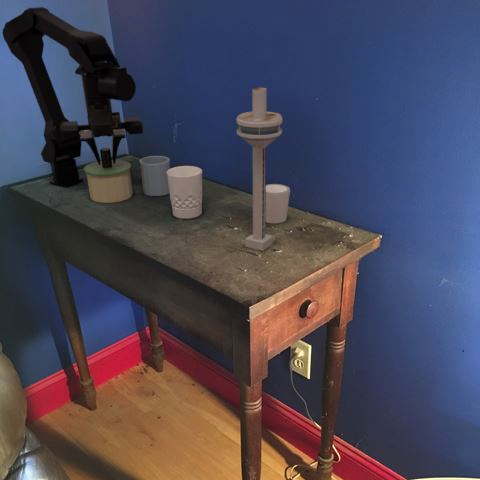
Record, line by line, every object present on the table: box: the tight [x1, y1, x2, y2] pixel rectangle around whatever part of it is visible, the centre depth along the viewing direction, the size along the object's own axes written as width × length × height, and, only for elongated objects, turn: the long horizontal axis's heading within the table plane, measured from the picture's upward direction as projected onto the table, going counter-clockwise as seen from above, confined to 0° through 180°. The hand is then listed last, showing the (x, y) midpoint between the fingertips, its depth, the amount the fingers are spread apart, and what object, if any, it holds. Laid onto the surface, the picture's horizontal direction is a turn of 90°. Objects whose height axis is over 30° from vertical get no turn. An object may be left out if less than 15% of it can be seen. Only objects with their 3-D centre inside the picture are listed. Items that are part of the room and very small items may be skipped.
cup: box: [138, 155, 172, 197], centre depth 142 cm, size 7×7×8 cm
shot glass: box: [265, 183, 291, 224], centre depth 125 cm, size 7×7×7 cm
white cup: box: [167, 165, 203, 220], centre depth 128 cm, size 8×8×10 cm
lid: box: [83, 147, 132, 176], centre depth 137 cm, size 11×11×5 cm
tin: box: [85, 169, 133, 204], centre depth 140 cm, size 10×10×7 cm
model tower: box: [236, 87, 283, 252], centre depth 107 cm, size 8×8×30 cm
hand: (107, 164), depth 137 cm, fingers open, 3 cm apart
